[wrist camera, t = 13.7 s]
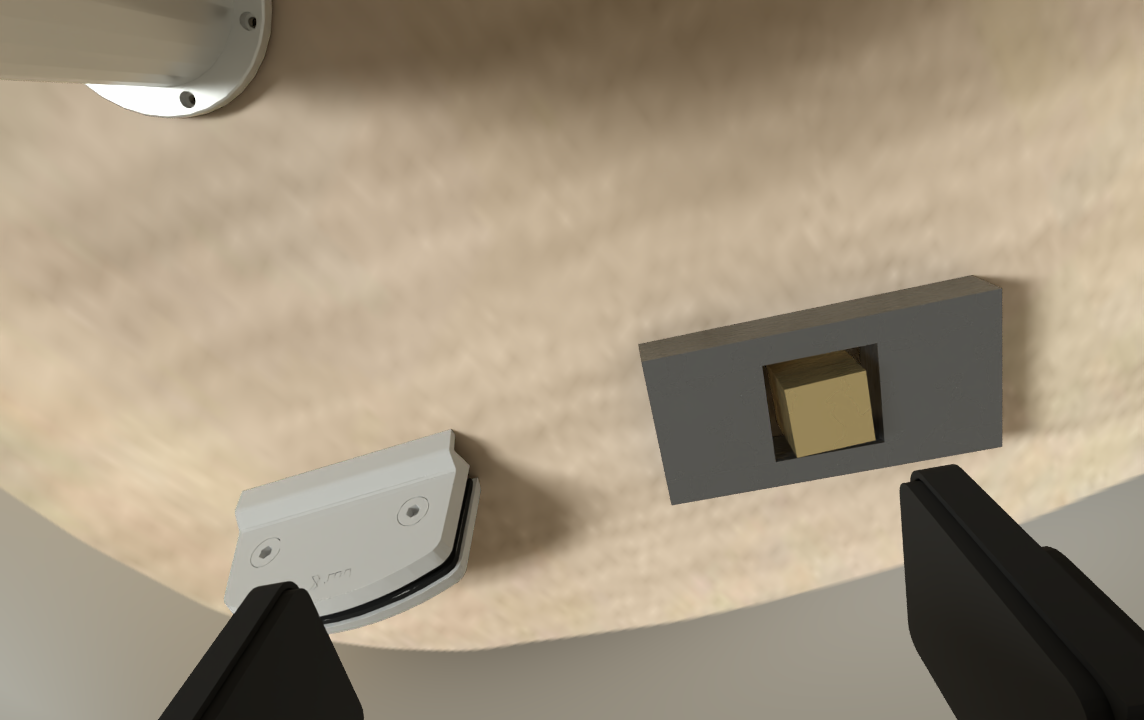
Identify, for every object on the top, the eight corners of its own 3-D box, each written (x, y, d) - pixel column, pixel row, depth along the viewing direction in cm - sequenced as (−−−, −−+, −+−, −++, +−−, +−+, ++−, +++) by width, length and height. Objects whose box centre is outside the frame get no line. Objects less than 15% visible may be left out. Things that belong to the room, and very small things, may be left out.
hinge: (456, 427, 43) (446, 559, 36) (485, 470, 46) (480, 600, 39) (237, 492, 46) (183, 629, 38) (277, 529, 49) (235, 663, 41)
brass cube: (765, 361, 41) (784, 389, 37) (837, 343, 40) (865, 370, 36) (777, 423, 42) (797, 457, 38) (847, 407, 42) (875, 440, 38)
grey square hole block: (638, 344, 41) (641, 361, 38) (972, 275, 38) (1001, 288, 36) (666, 480, 44) (671, 505, 41) (975, 424, 42) (1002, 446, 39)
